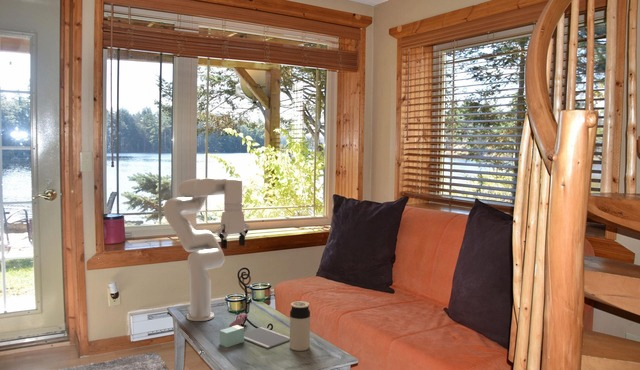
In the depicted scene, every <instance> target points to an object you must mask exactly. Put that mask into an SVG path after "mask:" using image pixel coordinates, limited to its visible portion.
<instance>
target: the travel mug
mask: <svg viewBox="0 0 640 370" xmlns="http://www.w3.org/2000/svg"><path fill="white" fill-rule="evenodd" d="M310 305H311V304H310V303H309V302H307V301H304V300H303V301H301V300H300V301H299V300H298V301H293V302H291V303H290V306H291V308H290V309H291V310H290V311H289V313H290V314H289V337H290V341H289V348H290V349H291V350H292V351H296V352H302V351H303V352H304V351H306V350H309V349H310V339H311V335H310V332H311V329H310V327H311V311H310V309H309V308H310Z"/></svg>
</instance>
